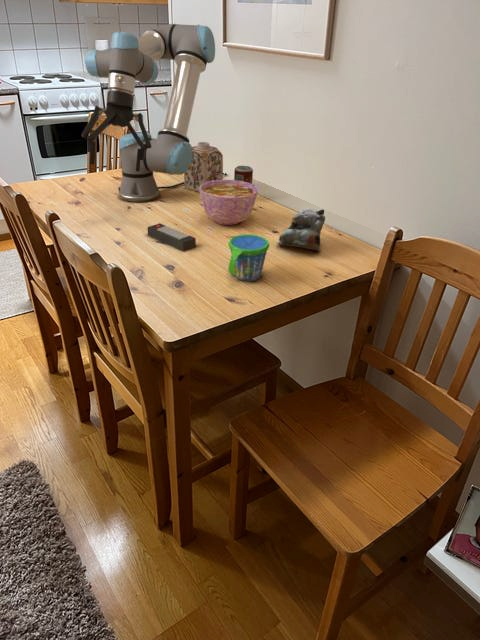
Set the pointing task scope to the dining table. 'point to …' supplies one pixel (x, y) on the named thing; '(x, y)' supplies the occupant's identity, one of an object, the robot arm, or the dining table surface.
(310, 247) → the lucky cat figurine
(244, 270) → the snack cup
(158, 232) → the tv remote
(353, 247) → the dining table surface
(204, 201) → the bowl of food
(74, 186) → the dining table surface
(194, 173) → the decorative jar
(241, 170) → the soda can
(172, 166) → the robot arm
